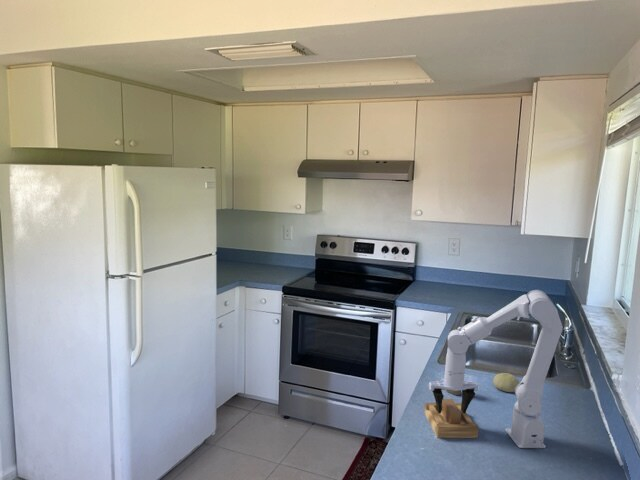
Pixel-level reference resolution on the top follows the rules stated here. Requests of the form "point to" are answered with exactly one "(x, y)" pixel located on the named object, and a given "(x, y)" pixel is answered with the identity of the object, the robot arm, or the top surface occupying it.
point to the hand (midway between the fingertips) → (451, 411)
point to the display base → (450, 430)
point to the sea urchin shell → (505, 382)
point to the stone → (454, 392)
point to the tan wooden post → (451, 411)
